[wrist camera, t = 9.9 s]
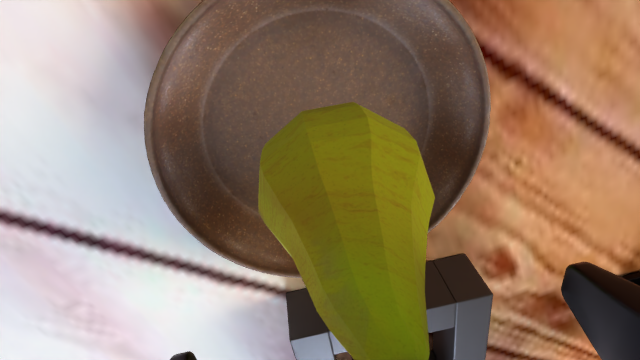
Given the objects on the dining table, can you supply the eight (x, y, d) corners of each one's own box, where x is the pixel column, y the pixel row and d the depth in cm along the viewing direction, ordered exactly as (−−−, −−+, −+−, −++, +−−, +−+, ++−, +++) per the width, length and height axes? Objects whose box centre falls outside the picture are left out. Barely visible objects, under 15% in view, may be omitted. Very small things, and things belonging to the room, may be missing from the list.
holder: (465, 252, 24) (493, 294, 21) (458, 360, 31) (480, 403, 28) (285, 292, 24) (289, 340, 21) (316, 393, 30) (322, 441, 27)
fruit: (428, 150, 17) (690, 450, 7) (329, 235, 19) (416, 579, 8) (330, 47, 14) (524, 295, 4) (224, 159, 16) (159, 541, 5)
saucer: (464, -89, 15) (502, -97, 12) (465, 209, 22) (489, 238, 20) (94, 3, 15) (63, 12, 12) (224, 271, 22) (220, 307, 20)
